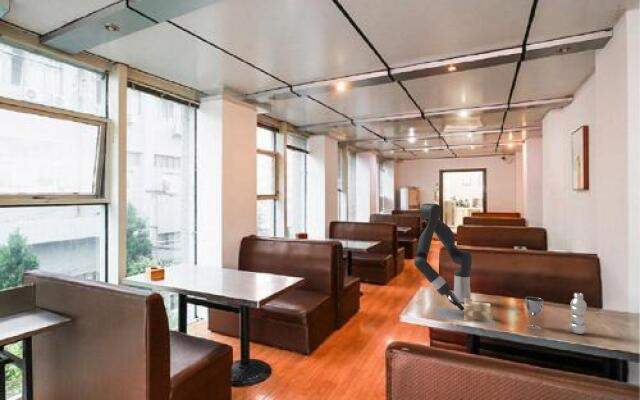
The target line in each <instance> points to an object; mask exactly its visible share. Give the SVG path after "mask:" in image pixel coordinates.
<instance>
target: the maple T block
mask: <svg viewBox="0 0 640 400" xmlns="http://www.w3.org/2000/svg"><path fill="white" fill-rule="evenodd" d="M463 307H464V320H469V321H472V318H476V319H483V320H490V314H491V311H492V310H491V303H488V302H487V303H486V302H480V301H473V298H470V299H468V298H464V304H463Z"/></svg>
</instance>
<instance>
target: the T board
mask: <svg viewBox="0 0 640 400" xmlns="http://www.w3.org/2000/svg"><path fill="white" fill-rule="evenodd" d="M434 317H435V318H443V319H448V320H453V321H454V320H456V321H461V322H469V323H474V324H475V323H476V324H481V325H482V324H483V325H489V326H497V325H496V322H495V318H494V315H493V314H492V313H490V320H483V319H476V318H472V321H469V320H464V310H463V311H461V310H460V309H456V308H449V307H441V306H437V307H436V310H435V316H434Z"/></svg>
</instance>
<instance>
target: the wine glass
mask: <svg viewBox="0 0 640 400" xmlns="http://www.w3.org/2000/svg"><path fill="white" fill-rule="evenodd" d="M524 301H525V307H526V310H527V311H528V312H529V314H530V315H531V317H532V324H526V325H525V327H526V328H527V329H529V330H534V331H541V330H542V327H540V326H538V325H536V323H535V322H536V317H537V316H538V315H539V314H541V312H542V310H543V308H544V299H542V298H540V297H536V296H535V297H534V296H526V297H525V299H524Z"/></svg>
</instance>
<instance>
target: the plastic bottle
mask: <svg viewBox="0 0 640 400" xmlns="http://www.w3.org/2000/svg"><path fill="white" fill-rule="evenodd" d="M586 310H587V302H586V301H585V300H584V293H581V292H574V293H573V298H572V299H571V300H570V312H571V314H570V315H571V316H570V323H569V326H568V327H569V331H571V332H572V334H573V333H574V334H577V335H584V334H585V333H586V331H587V328H586V322H585V321H586V319H585V318H586Z"/></svg>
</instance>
